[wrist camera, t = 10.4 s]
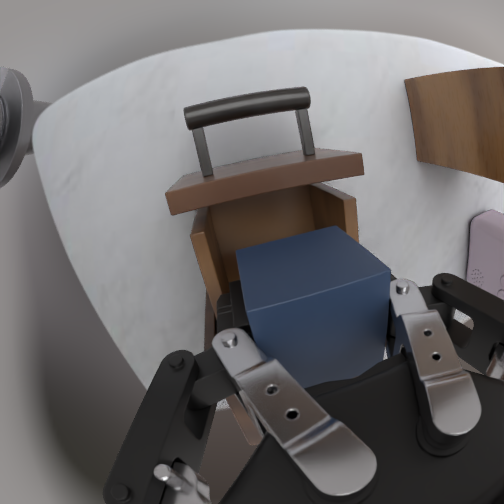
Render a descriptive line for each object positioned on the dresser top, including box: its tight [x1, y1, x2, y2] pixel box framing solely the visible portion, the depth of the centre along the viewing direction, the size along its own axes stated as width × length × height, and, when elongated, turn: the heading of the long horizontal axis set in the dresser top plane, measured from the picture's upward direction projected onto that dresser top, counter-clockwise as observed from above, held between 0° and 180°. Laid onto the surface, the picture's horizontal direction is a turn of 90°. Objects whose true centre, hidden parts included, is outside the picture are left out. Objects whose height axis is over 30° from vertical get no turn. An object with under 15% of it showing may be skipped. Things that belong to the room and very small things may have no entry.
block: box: [236, 225, 391, 388], centre depth 11 cm, size 5×5×5 cm
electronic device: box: [467, 210, 504, 300], centre depth 22 cm, size 10×5×10 cm, turn 17°
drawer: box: [165, 87, 364, 319], centre depth 18 cm, size 17×10×7 cm, turn 11°
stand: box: [405, 67, 504, 183], centre depth 13 cm, size 8×8×16 cm
